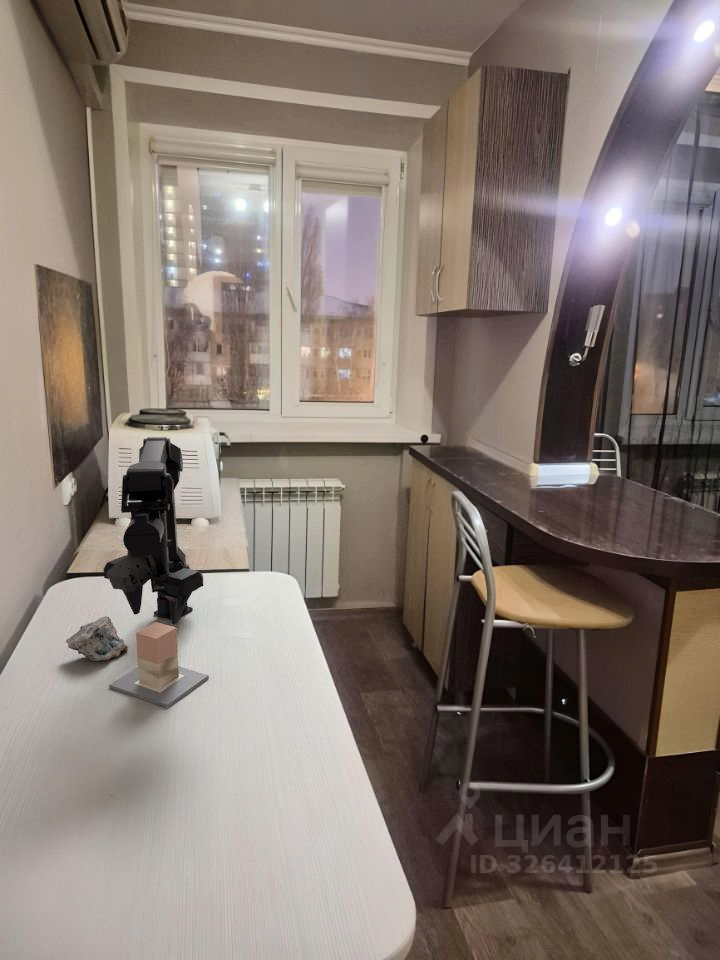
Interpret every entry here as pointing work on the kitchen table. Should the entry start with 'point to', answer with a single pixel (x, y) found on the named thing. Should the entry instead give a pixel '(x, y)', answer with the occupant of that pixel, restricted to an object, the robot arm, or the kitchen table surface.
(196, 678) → the slate board
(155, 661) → the terracotta cube
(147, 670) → the beech cube
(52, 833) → the kitchen table surface
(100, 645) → the mineral specimen
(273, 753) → the kitchen table surface
